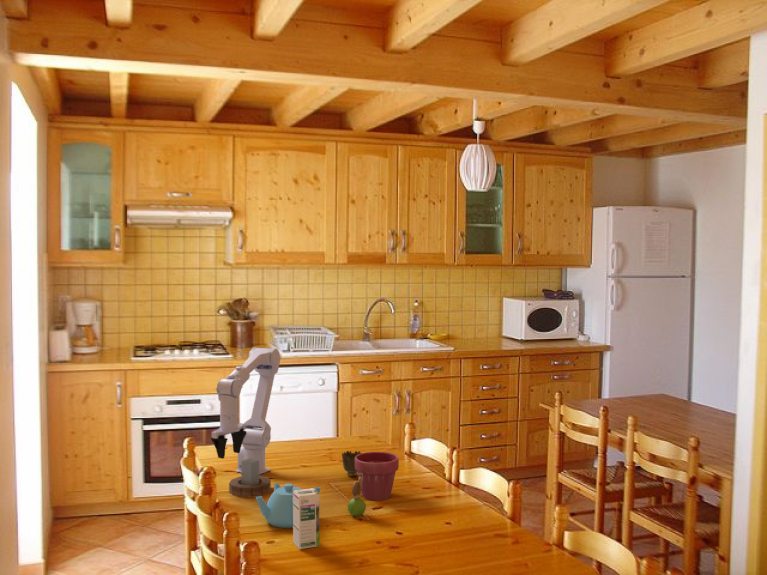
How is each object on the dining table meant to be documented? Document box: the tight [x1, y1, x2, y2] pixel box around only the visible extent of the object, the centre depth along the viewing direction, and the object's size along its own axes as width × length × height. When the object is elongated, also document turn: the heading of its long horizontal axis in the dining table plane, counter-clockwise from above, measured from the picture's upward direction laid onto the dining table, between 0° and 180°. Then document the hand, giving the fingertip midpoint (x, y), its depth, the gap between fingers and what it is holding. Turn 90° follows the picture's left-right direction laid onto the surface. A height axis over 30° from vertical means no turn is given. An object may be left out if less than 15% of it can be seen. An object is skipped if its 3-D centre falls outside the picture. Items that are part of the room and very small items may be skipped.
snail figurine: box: [347, 473, 367, 517], centre depth 225 cm, size 5×6×12 cm
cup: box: [341, 450, 362, 478], centre depth 264 cm, size 8×7×8 cm
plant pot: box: [355, 451, 400, 501], centre depth 242 cm, size 14×14×13 cm
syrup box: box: [292, 487, 320, 550], centre depth 202 cm, size 6×6×14 cm
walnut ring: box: [228, 475, 272, 498], centre depth 247 cm, size 13×13×3 cm
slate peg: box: [240, 458, 260, 485], centre depth 247 cm, size 4×4×10 cm
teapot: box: [255, 483, 321, 529], centre depth 220 cm, size 15×15×11 cm
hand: (229, 455), depth 251 cm, fingers open, 7 cm apart
